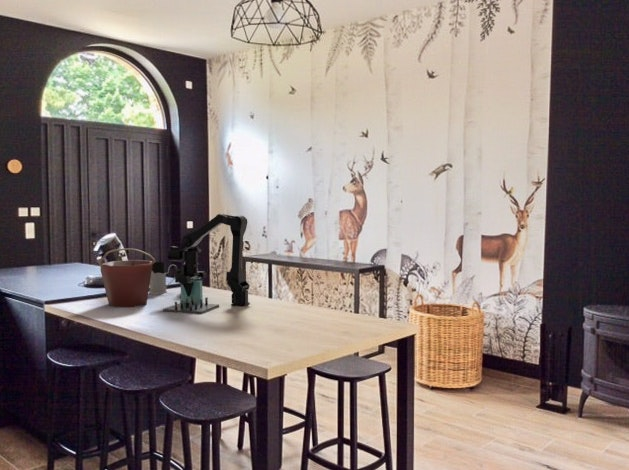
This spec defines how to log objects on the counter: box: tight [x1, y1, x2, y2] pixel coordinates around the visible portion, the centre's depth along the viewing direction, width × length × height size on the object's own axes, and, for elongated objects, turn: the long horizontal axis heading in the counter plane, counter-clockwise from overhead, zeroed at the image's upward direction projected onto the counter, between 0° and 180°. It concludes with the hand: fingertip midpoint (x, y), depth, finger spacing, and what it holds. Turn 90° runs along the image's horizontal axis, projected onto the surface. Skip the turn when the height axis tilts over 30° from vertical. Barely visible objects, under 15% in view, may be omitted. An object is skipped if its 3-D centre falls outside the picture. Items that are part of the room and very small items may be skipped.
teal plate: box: [180, 280, 203, 303], centre depth 265 cm, size 10×2×10 cm, turn 72°
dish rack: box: [162, 296, 220, 315], centre depth 249 cm, size 18×16×4 cm
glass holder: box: [148, 261, 176, 295], centre depth 291 cm, size 9×14×15 cm, turn 115°
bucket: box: [96, 248, 156, 308], centre depth 262 cm, size 24×22×25 cm
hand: (191, 295), depth 265 cm, fingers open, 5 cm apart
